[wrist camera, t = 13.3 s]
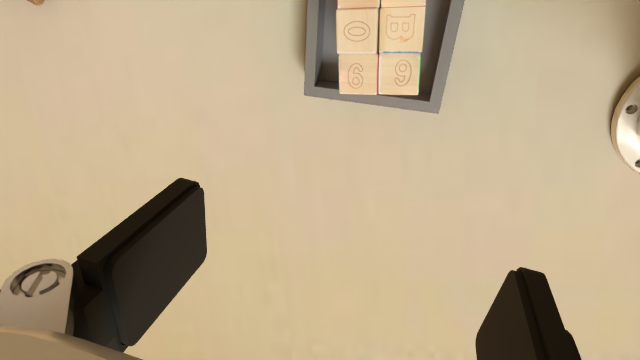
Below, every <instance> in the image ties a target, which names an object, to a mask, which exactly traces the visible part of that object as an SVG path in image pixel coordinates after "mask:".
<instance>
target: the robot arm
mask: <svg viewBox="0 0 640 360" xmlns="http://www.w3.org/2000/svg"><path fill="white" fill-rule="evenodd" d="M629 105H630V107H629V108H627V107H628V106H629ZM626 108H627V109H626ZM611 137H612V142H613V146H614V148H615V150H616V152H617V154H618V155H619V156H620V158H621V159H622V160H623V161H624V162H625V163H626V164H627V165H628V166H629V167H630V168H631V169H632V170H634V171H636V172H637V173H639V174H640V76H639V77H638V78H637V79H636V80H635V81H634V82H632V84H631V85H630V86H629V88H628V89H627V90H626V91H625V93H624V94H623V95H622V97H621V99H620V101H619V103H618V105H617V106H616V108H615V112H614V115H613V118H612V123H611ZM206 254H207V244H206V225H205V205H204V190H203V189H202V188H200V185H199V183H198V182H195V181H191V180H188V179H184V178H179V179H177V180H176V181H174V182H173V183H172V184H170V185H169V186H168V187H167V188H165V189H164V190H163V191H161V192H160V193H159V194H158V195H156V196H155V197H154V198H152V199H151V200H150V201H148V202H147V203H146V204H145V205H143V206H142V207H141V208H139V209H138V210H137V211H135V212H134V213H133V214H132V215H130V216H129V217H128V218H126V219H125V220H124V221H123V222H121V223H120V224H119V225H117V226H116V227H115V228H113V229H112V230H111V231H110V232H108V233H107V234H106V235H104V236H103V237H102V238H100V239H99V240H98V241H97V242H95V243H94V244H93V245H91V246H90V247H89V248H88V249H86V250H85V251H84V252H82V253H81V254H80V255H78V256H77V261H76V262H74V263H73V264H72V265H70V264H69V263H68V262H66V261H63V260H58V259H47V260H41V261H37V262H33V263H30V264H28V265H26V266H23V267H21V268H20V269H18V270H17V271H15V272H13V273H12V274H11V275H10V276H9V277H8V278H7V279H6V281H5V282H4V284H3V286H2V288H1V290H0V360H142V359H139V358H136V357H134V356H131V355H128V354H125V353H123V352H124V351H125V350H126V348H127V347H128V346H133V345H135V344H136V343H137V342H138V341H139V339H140V338H141V337H142V336H143V335H144V333H145V332H146V331H147V330H148V328H149V327H150V326H151V325H152V324H153V322H154V321H155V320H156V319H157V318H158V316H159V315H160V314H161V313H162V312H163V310H164V309H165V308H166V307H167V305H168V304H169V303H170V302H171V301H172V299H173V298H174V297H175V296H176V295H177V293H178V292H179V291H180V290H181V288H182V287H183V286H184V285H185V284H186V282H187V281H188V280H189V279H190V278H191V276H192V275H193V274H194V273H195V272H196V270H197V269H198V268H199V267H200V265H201V264H202V263H203V262H204V260H205V258H206ZM476 354H477V360H581V357H580V354H579V352H578V349H577V347H576V344H575V341H574V339H573V337H572V335H571V334H570V333H569V332H568V331H567V330H565V328H564V325H563V323H562V320H561V317H560V314H559V312H558V309H557V306H556V303H555V301H554V298H553V295H552V292H551V290H550V287H549V284H548V281H547V279H546V276H545V274H543V273H541V272H538V271H534V270H530V269H526V268H522V267H520V268H518V269H517V271H513V270H511V271H510V272H509V273H508V275H507V277H506V279H505V281H504V283H503V285H502V287H501V288H500V290H499V292H498V294H497V296H496V298H495V300H494V302H493V304H492V306H491V308H490V310H489V312H488V314H487V316H486V317H485V319H484V321H483V323H482V325H481V327H480V329H479V331H478V333H477V337H476Z"/></svg>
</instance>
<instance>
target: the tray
mask: <svg viewBox="0 0 640 360" xmlns="http://www.w3.org/2000/svg"><path fill="white" fill-rule="evenodd" d="M464 1H465V0H426V10H425V23H424V36H423V49H422V53H421V69H420V82H419V94H418V95H387V94H377V95H364V94H339V63H338V61H339V55H338V54H337V41H336V10H337V0H308V6H307V32H306V57H305V82H304V95H305V96H313V97H320V98H327V99H334V100H342V101H349V102H356V103H364V104H371V105H378V106H385V107H393V108H400V109H407V110H415V111H422V112H429V113H436V114H439V109H440V105H441V101H442V96H443V92H444V88H445V83H446V79H447V75H448V70H449V66H450V62H451V57H452V53H453V49H454V44H455V40H456V36H457V31H458V27H459V23H460V18H461V14H462V10H463V5H464Z"/></svg>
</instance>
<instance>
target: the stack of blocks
mask: <svg viewBox="0 0 640 360" xmlns="http://www.w3.org/2000/svg"><path fill="white" fill-rule="evenodd" d="M425 10H426V0H337V10H336V41H337V54H338V55H339V61H338V63H339V94H364V95H377V94H387V95H418V94H419V82H420V69H421V53H422V49H423V36H424V23H425Z"/></svg>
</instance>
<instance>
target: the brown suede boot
mask: <svg viewBox="0 0 640 360" xmlns="http://www.w3.org/2000/svg"><path fill="white" fill-rule="evenodd" d="M28 1H29V2H31V3H33V4H35V5H37V6H40V5H42V4H43V3H44V1H45V0H28Z"/></svg>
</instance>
